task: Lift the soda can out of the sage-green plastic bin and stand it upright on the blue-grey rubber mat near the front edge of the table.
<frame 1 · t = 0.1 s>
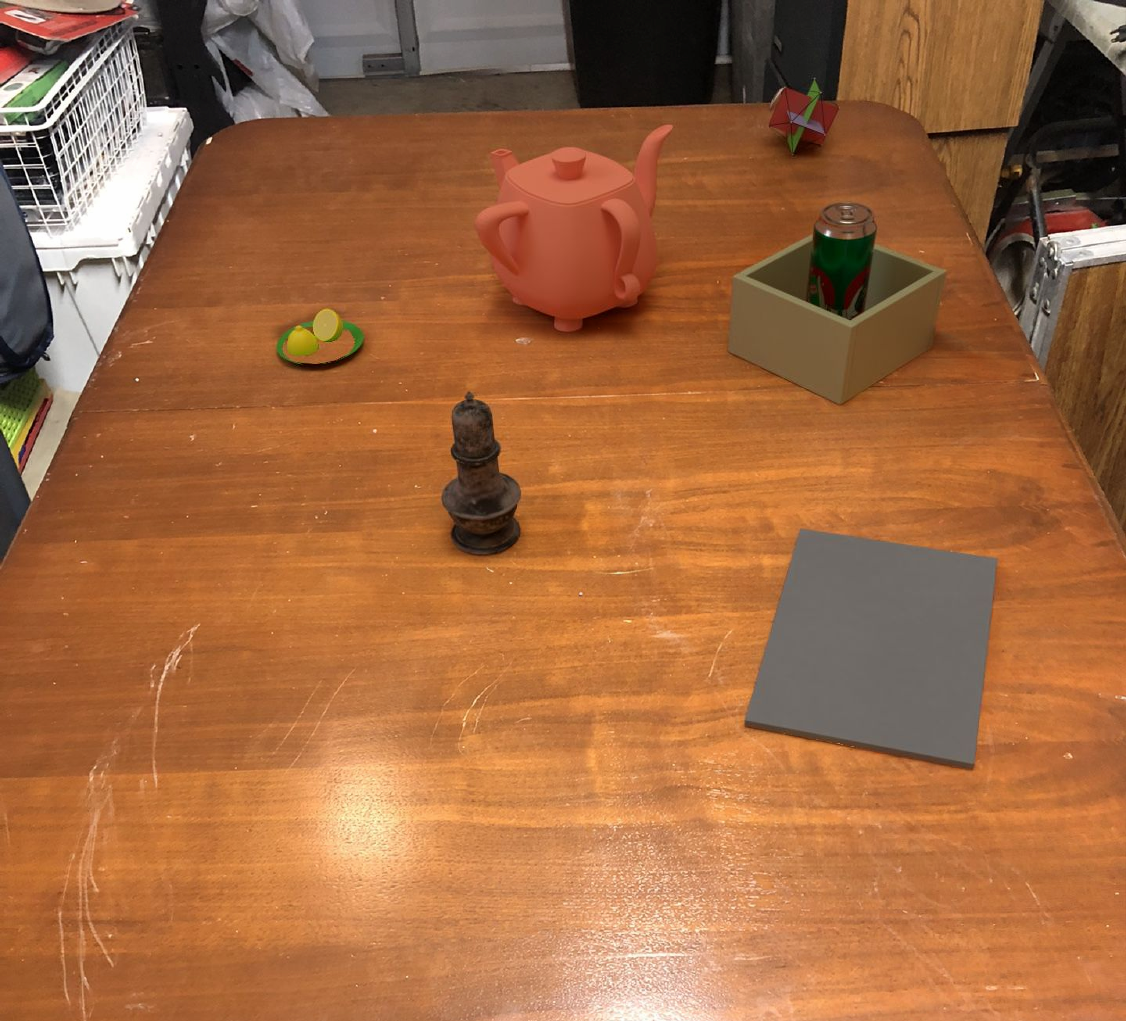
soda can: (828, 351, 104), resting in bin
teapot: (578, 294, 113), on the table
bin: (828, 349, 104), on the table
mat: (877, 640, 79), on the table
salt shaker: (486, 535, 89), on the table
geometric puzzle: (800, 148, 133), on the table
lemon: (321, 349, 108), on the table
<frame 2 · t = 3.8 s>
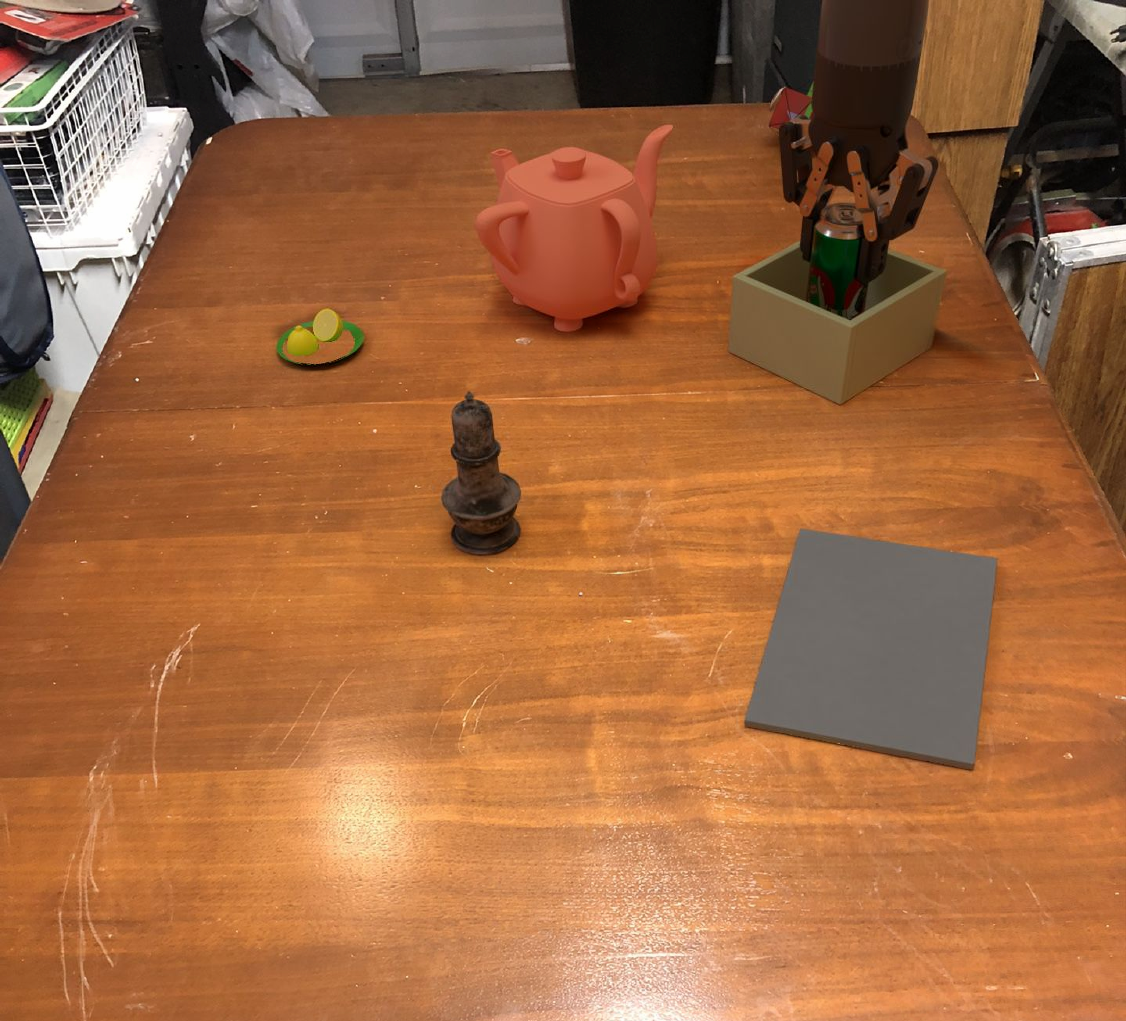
hand: (839, 268, 98), 7 cm above the table, tool pointing down, fingers closed on soda can, 5 cm apart
soda can: (828, 351, 104), resting in bin, touching gripper
everything else where it was.
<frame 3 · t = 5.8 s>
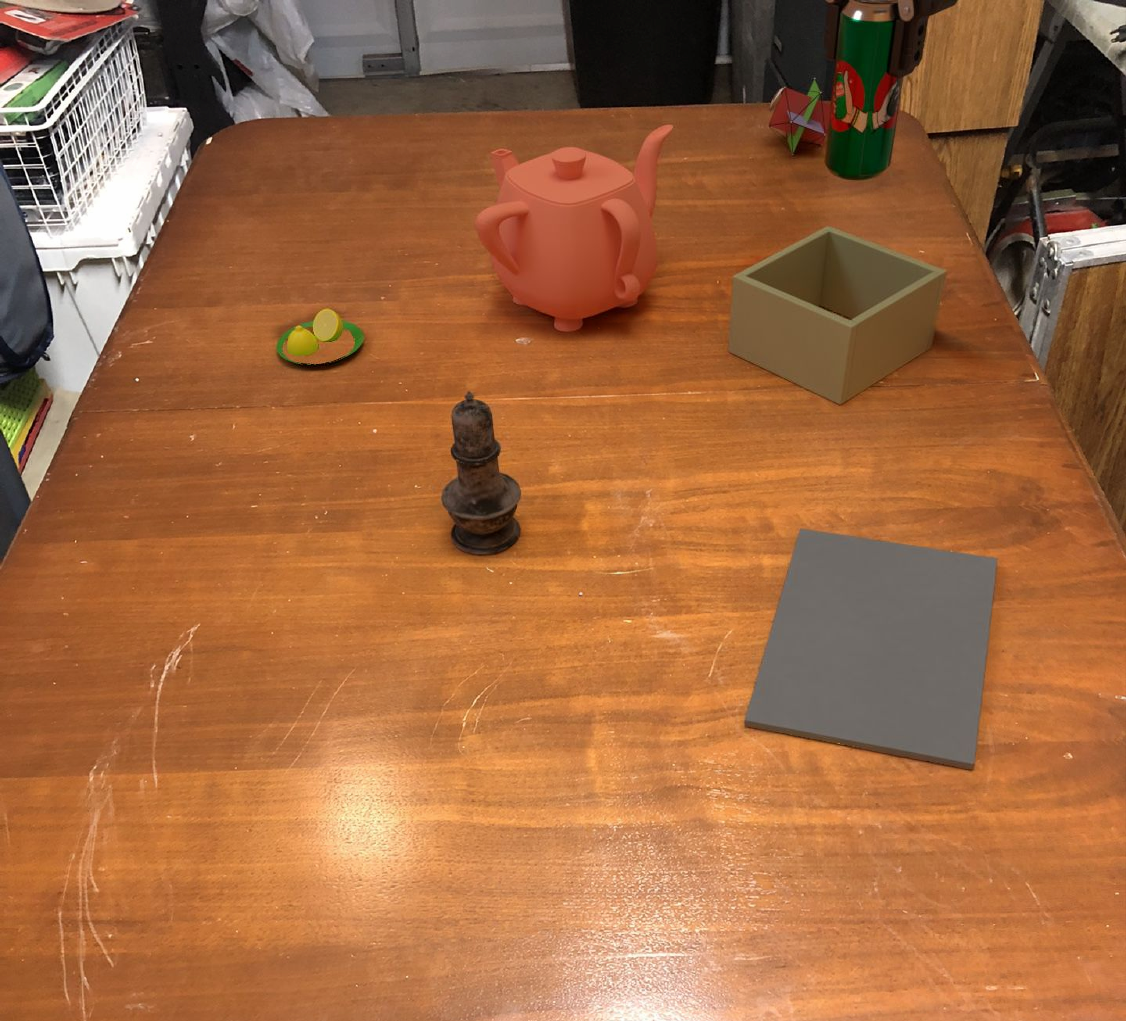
hand: (869, 65, 86), 23 cm above the table, tool pointing down, fingers closed on soda can, 5 cm apart
soda can: (856, 172, 92), point 15 cm above the table, touching gripper
everything else where it was.
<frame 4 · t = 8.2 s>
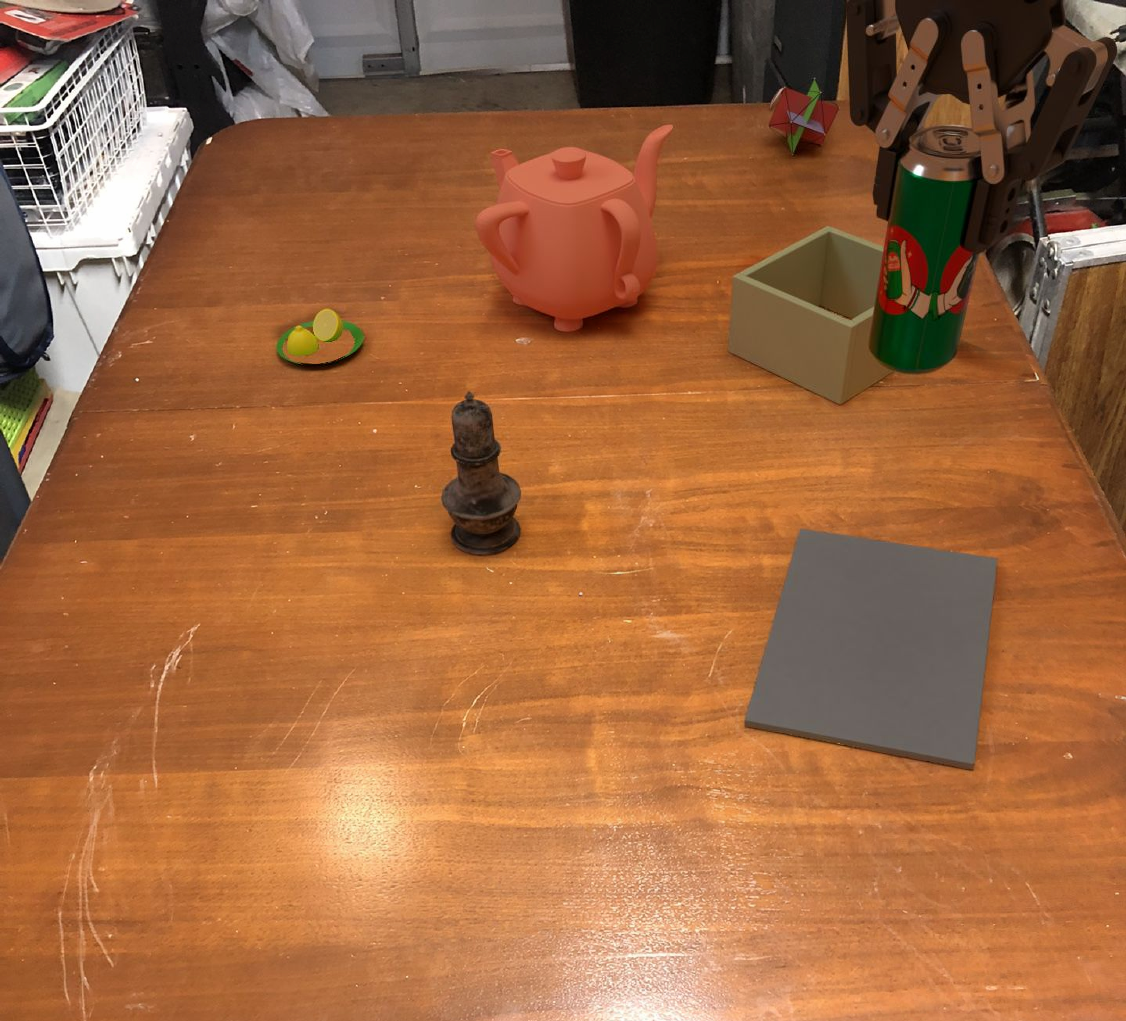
hand: (935, 229, 63), 26 cm above the table, tool pointing down, fingers closed on soda can, 5 cm apart
soda can: (910, 359, 69), point 18 cm above the table, touching gripper
everything else where it was.
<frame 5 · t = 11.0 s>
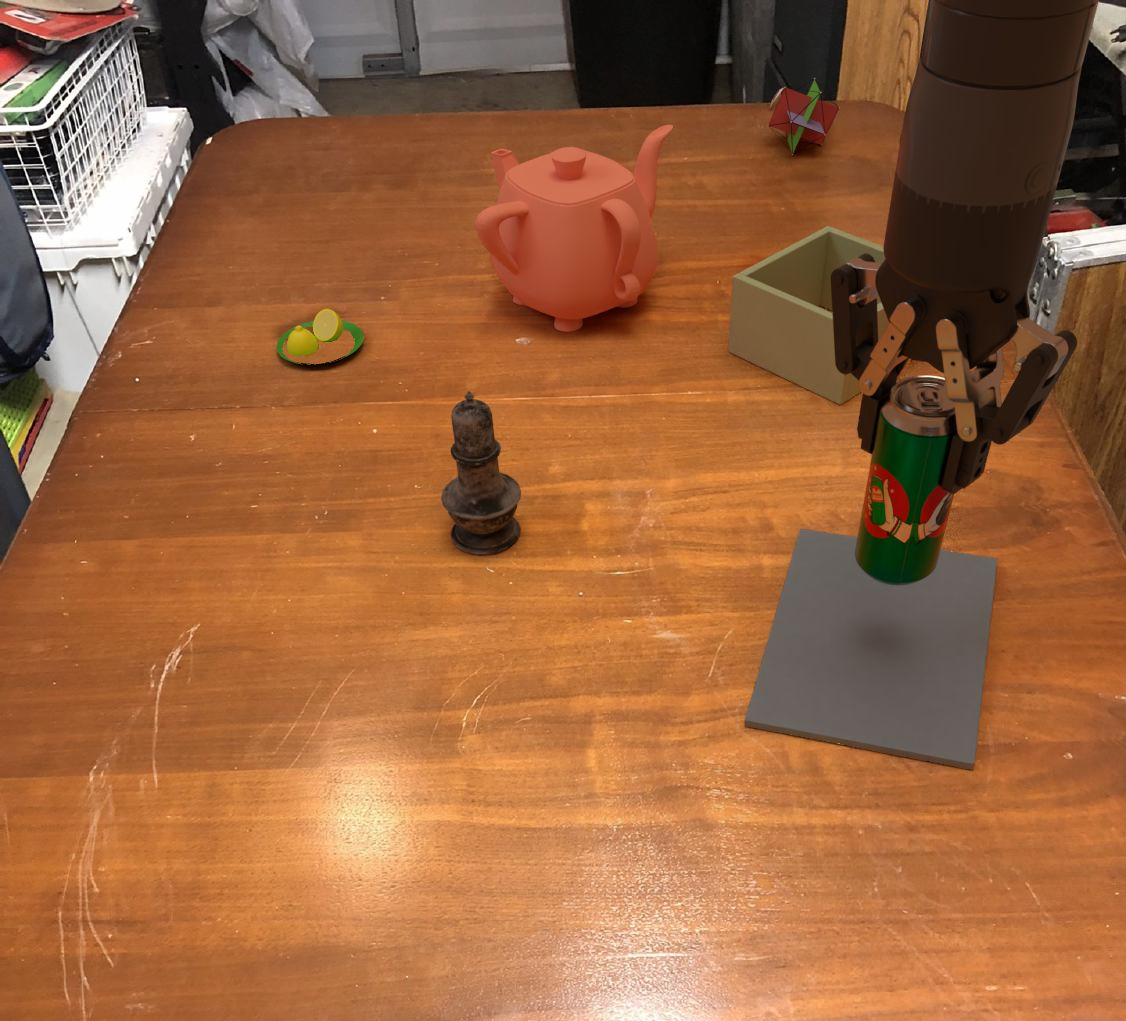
hand: (915, 464, 68), 14 cm above the table, tool pointing down, fingers closed on soda can, 5 cm apart
soda can: (893, 566, 74), point 6 cm above the table, touching gripper
everything else where it was.
when the fingers open (8 cm above the table, at t = 12.9 s): soda can stays where it is, resting on mat.
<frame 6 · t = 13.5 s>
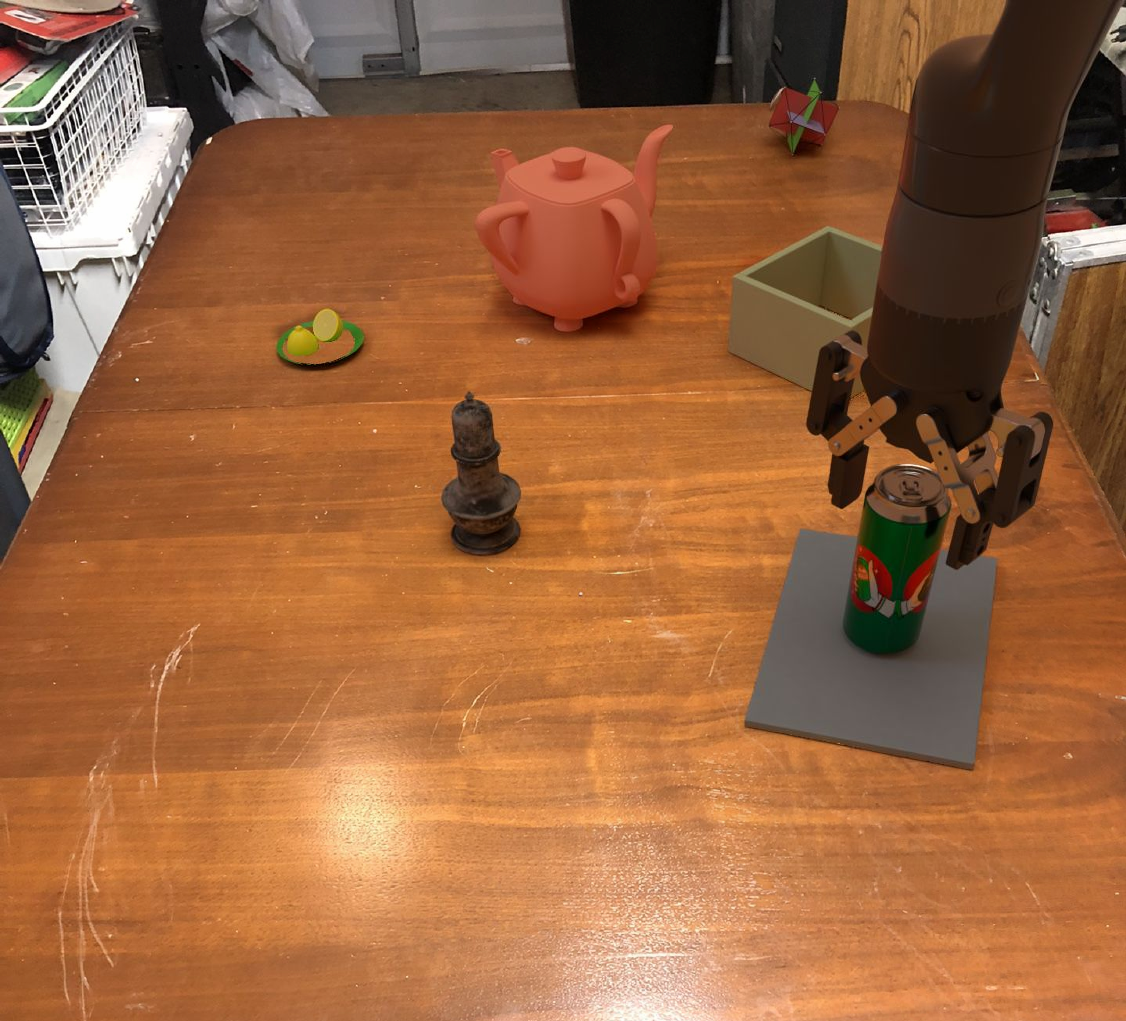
hand: (900, 530, 72), 9 cm above the table, tool pointing down, fingers open, 8 cm apart
soda can: (879, 635, 78), resting on mat
everything else where it was.
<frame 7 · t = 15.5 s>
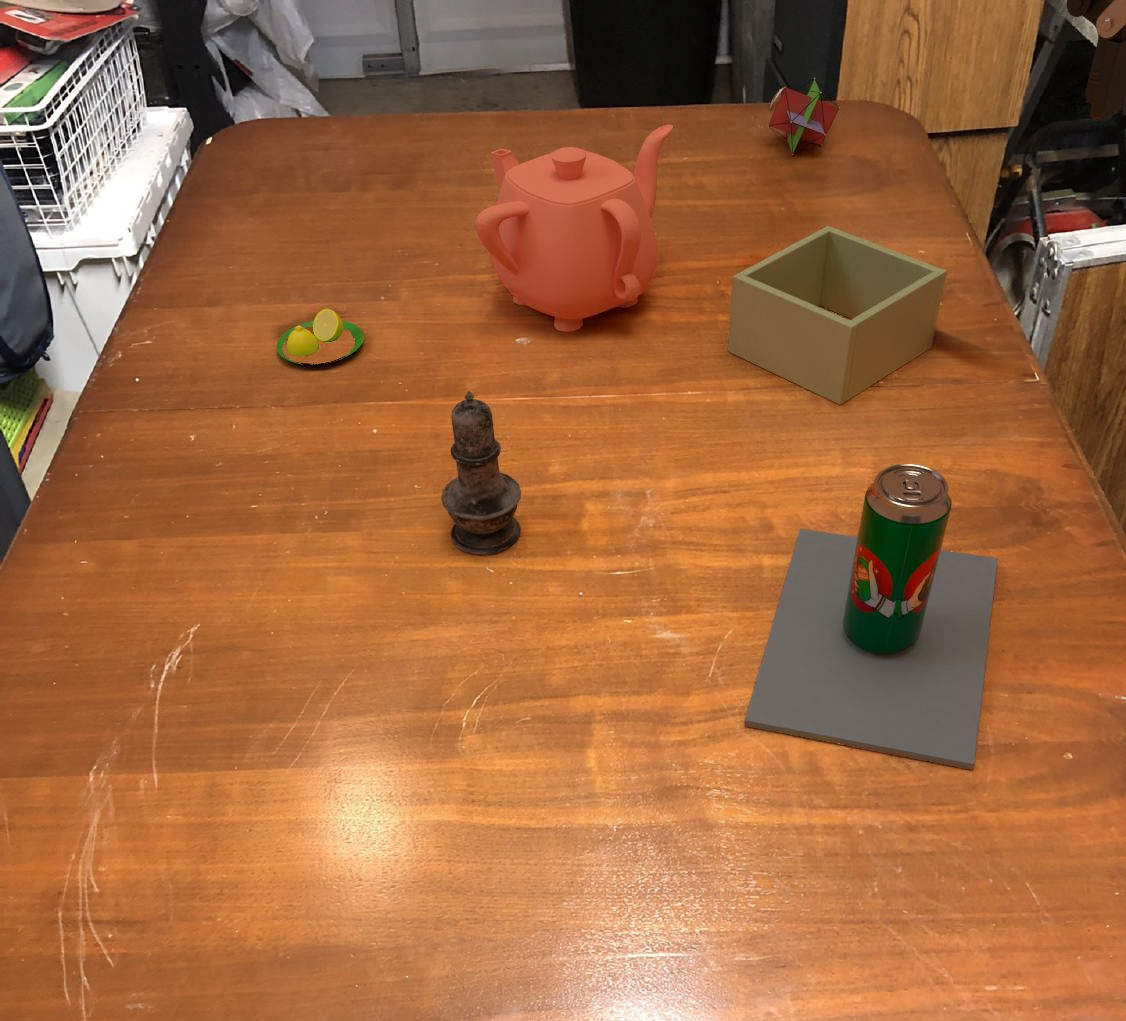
nothing on the table moved.
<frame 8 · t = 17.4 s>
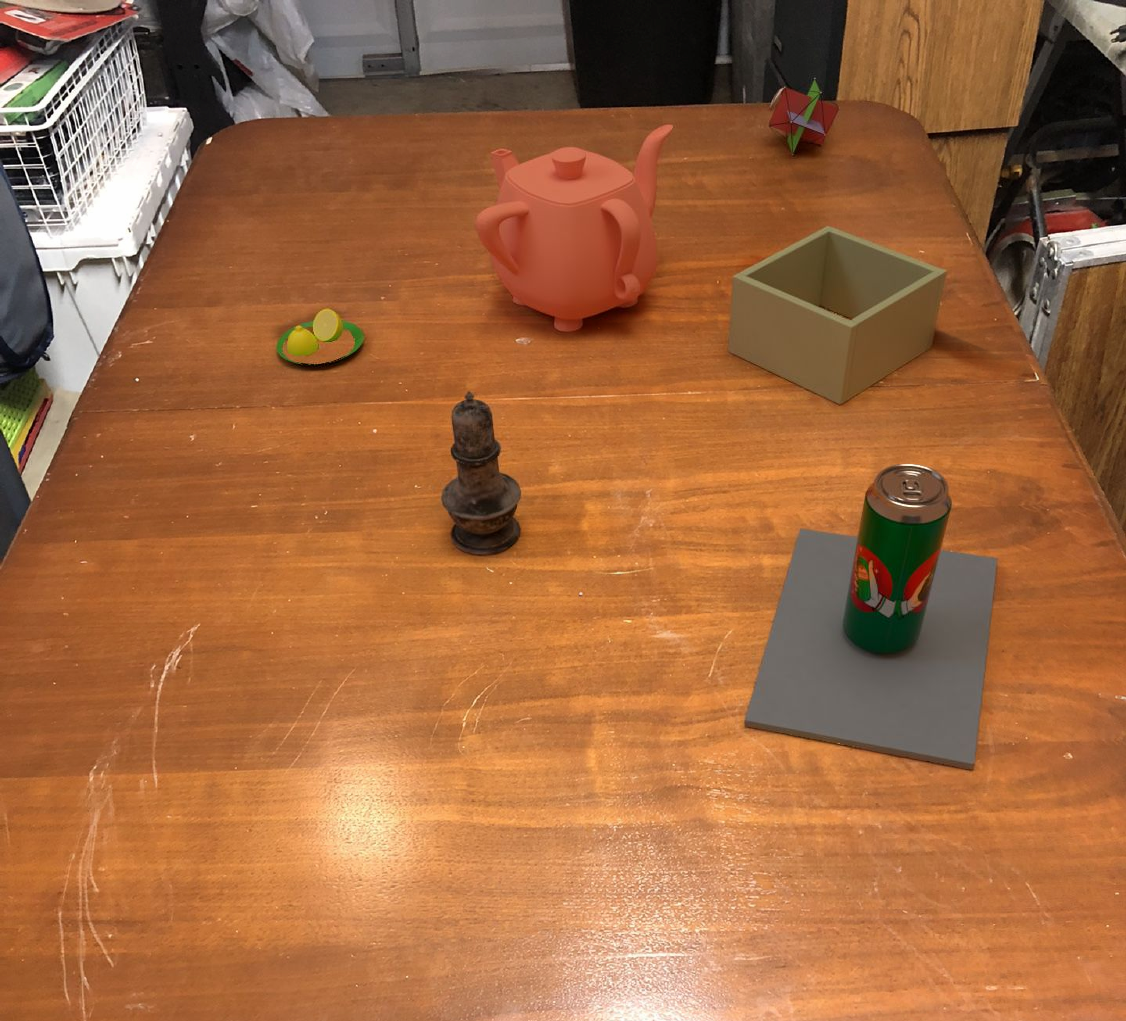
nothing on the table moved.
at the end: soda can inside the target area on the mat (0.1 cm from its centre), point 0.4 cm above the mat's base; soda can tilted 0°; soda can touching mat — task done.
